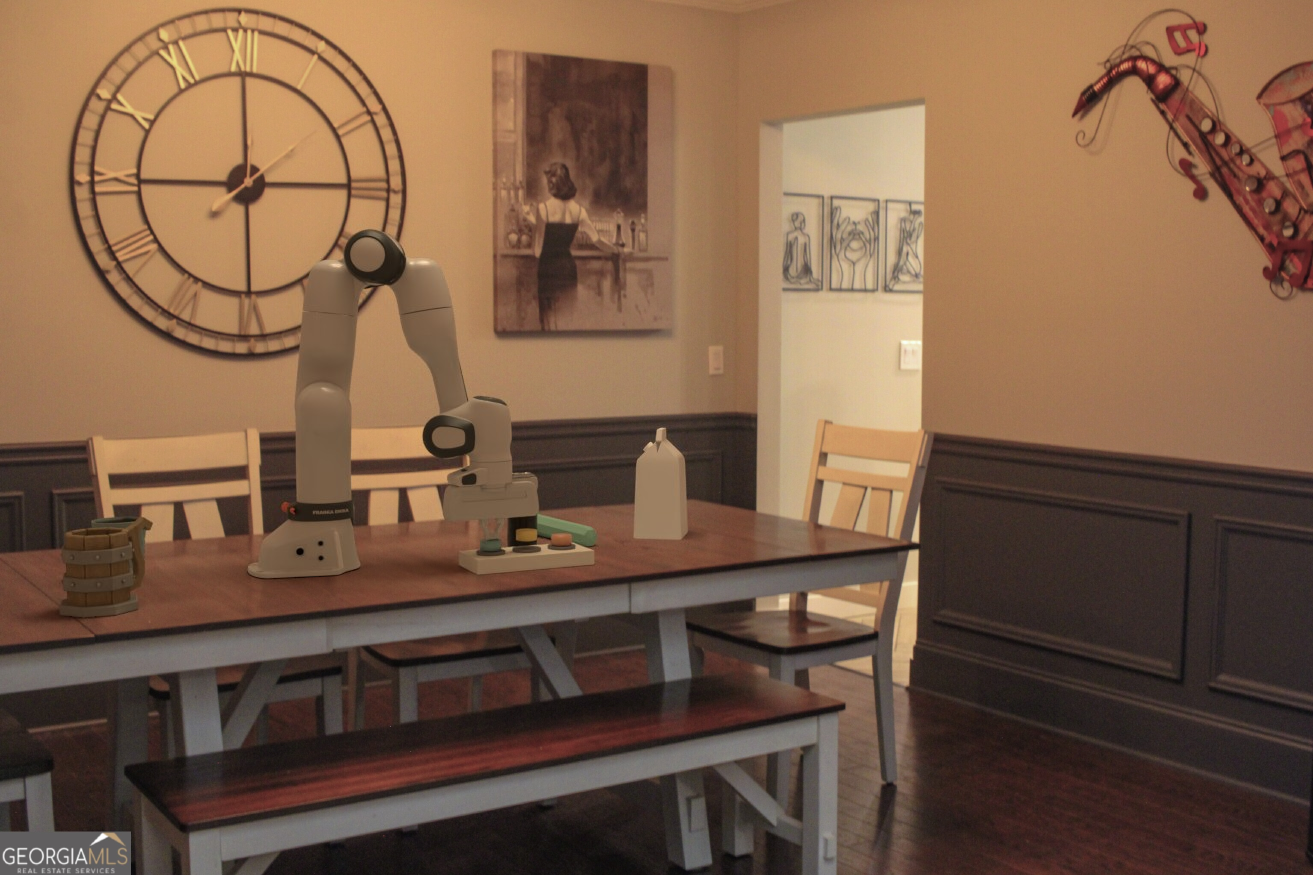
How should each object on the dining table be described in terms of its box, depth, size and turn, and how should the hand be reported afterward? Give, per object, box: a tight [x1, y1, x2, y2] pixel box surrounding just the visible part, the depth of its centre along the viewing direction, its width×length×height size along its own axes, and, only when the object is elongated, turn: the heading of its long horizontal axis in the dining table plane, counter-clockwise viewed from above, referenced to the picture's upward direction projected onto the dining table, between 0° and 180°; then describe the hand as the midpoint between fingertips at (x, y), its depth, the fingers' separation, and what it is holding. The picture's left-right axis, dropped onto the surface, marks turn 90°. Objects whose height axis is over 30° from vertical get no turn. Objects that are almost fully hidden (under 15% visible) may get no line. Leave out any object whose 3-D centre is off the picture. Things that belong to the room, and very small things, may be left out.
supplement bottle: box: [506, 514, 538, 547], centre depth 289 cm, size 7×7×12 cm
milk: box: [633, 427, 689, 541], centre depth 310 cm, size 12×12×26 cm
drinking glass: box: [90, 516, 147, 569], centre depth 254 cm, size 10×10×12 cm
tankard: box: [59, 516, 154, 619], centre depth 229 cm, size 20×13×15 cm, turn 158°
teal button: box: [479, 538, 502, 551], centre depth 267 cm, size 4×4×2 cm
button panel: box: [458, 542, 595, 576], centre depth 271 cm, size 26×12×4 cm, turn 117°
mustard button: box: [516, 529, 538, 541], centre depth 271 cm, size 4×4×2 cm
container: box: [537, 511, 598, 548], centre depth 304 cm, size 6×6×25 cm
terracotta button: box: [550, 533, 572, 546], centre depth 274 cm, size 4×4×2 cm
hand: (492, 539), depth 267 cm, fingers closed, pressing on teal button
